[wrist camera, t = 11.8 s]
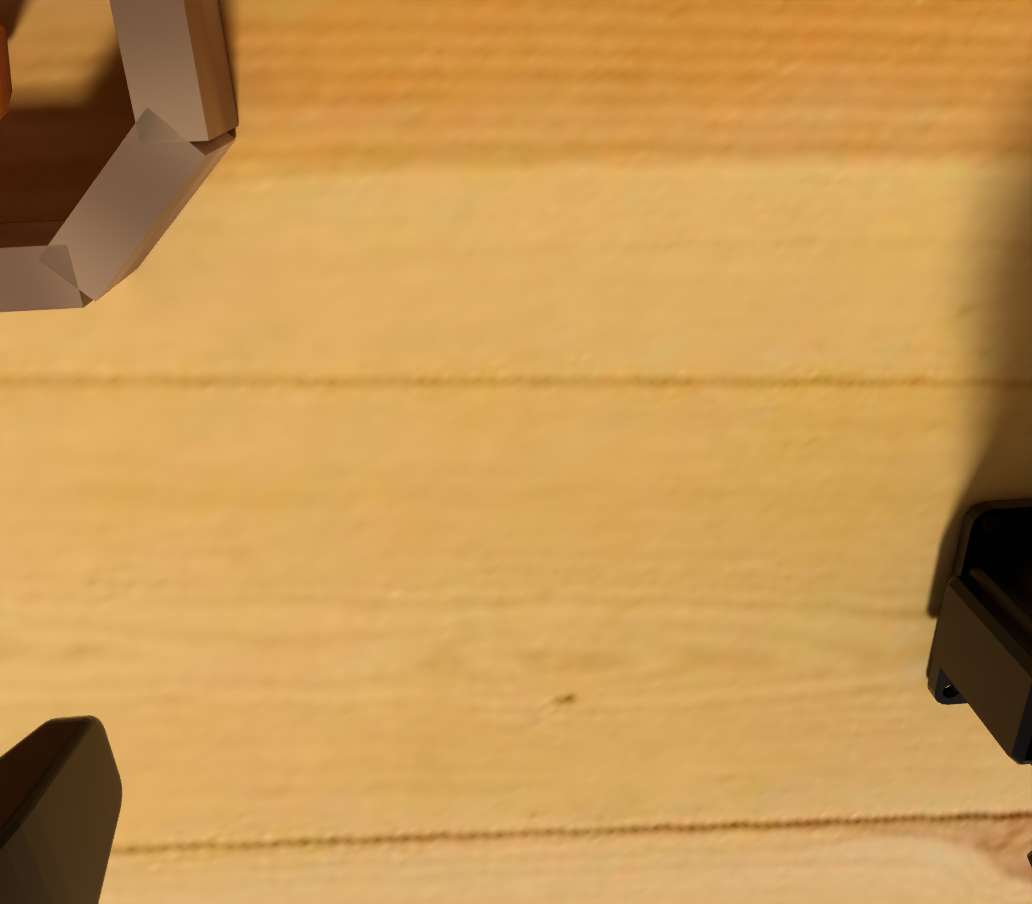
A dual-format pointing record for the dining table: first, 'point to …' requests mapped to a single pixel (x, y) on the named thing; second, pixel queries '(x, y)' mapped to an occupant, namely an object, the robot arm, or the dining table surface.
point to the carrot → (4, 74)
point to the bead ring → (133, 161)
